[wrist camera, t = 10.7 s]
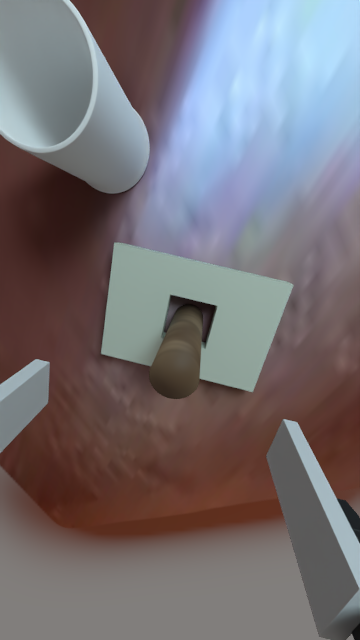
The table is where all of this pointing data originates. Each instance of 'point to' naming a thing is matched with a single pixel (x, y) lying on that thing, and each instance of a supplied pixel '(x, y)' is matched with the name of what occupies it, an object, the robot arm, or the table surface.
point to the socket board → (200, 285)
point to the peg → (179, 355)
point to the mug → (66, 97)
